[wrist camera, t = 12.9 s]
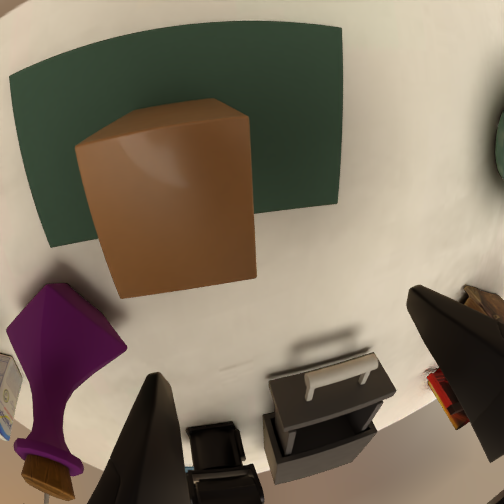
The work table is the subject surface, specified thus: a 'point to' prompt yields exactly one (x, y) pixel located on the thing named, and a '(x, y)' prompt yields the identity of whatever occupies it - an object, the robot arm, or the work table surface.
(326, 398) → the drawer
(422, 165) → the work table surface
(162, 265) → the box
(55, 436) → the perfume bottle
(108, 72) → the front mat
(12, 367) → the medicine box
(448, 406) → the mug
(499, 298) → the book
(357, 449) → the dark grey box
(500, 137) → the flower pot
